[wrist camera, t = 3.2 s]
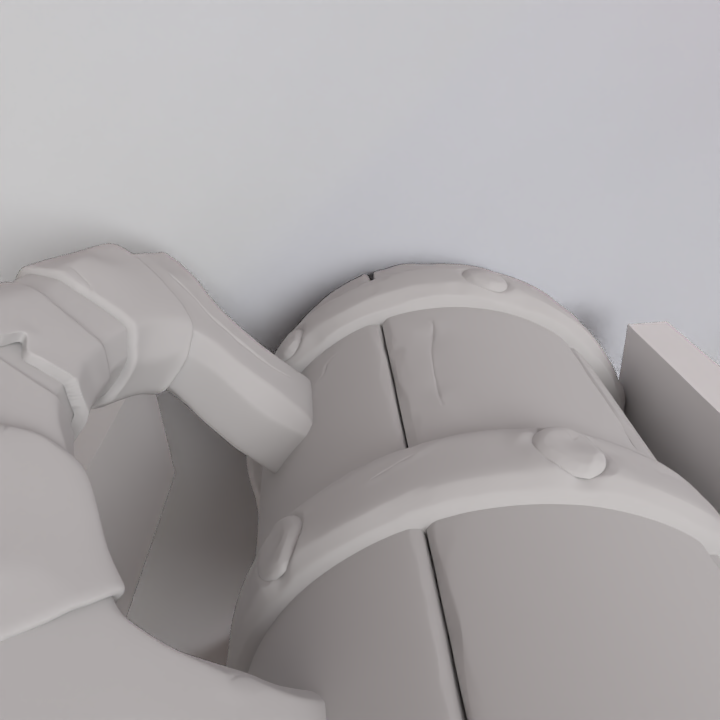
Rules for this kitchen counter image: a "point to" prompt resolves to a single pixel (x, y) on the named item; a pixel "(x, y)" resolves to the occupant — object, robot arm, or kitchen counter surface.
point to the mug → (357, 507)
